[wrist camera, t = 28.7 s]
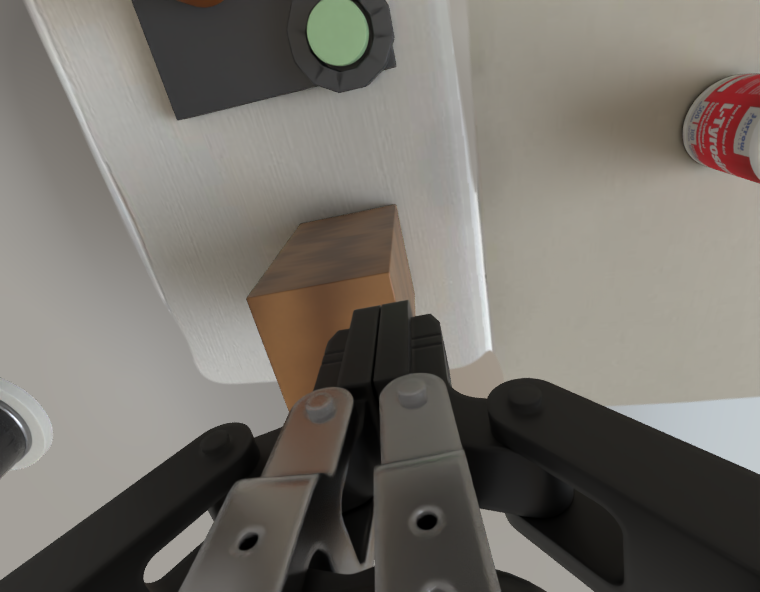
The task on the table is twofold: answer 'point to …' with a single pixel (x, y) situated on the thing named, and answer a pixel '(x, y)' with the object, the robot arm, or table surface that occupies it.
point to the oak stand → (326, 289)
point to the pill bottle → (727, 127)
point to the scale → (251, 51)
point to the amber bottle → (201, 2)
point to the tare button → (337, 32)
